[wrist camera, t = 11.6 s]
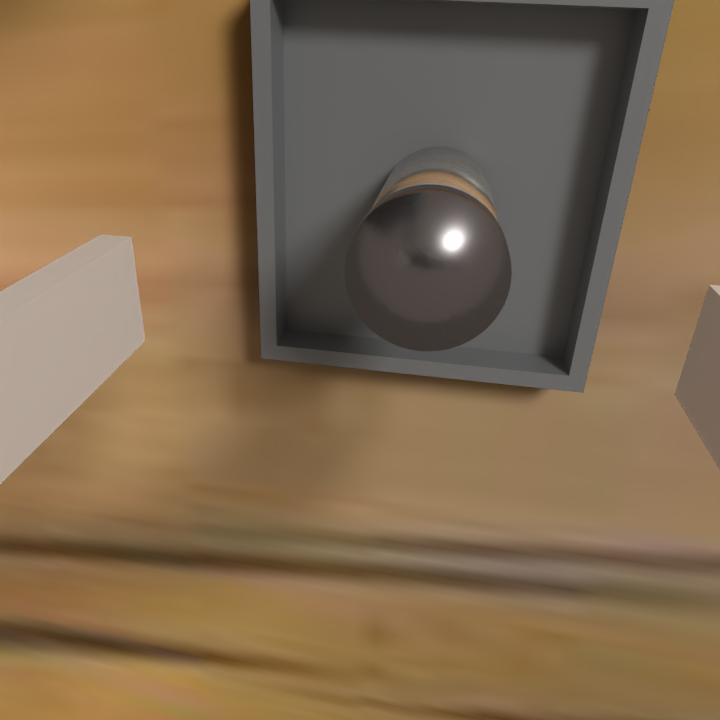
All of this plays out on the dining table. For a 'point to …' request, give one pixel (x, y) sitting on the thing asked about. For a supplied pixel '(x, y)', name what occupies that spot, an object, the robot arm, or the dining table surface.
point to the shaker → (430, 254)
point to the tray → (458, 131)
